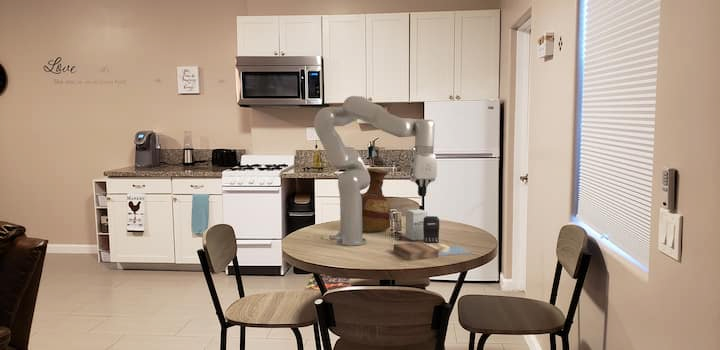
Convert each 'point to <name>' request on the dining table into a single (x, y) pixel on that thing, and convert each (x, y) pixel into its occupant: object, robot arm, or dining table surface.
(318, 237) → the dining table surface
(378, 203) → the brown vase
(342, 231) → the robot arm
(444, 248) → the birch slab
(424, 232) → the battery
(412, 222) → the supplement box
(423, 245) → the walnut block
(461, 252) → the rubber mat
